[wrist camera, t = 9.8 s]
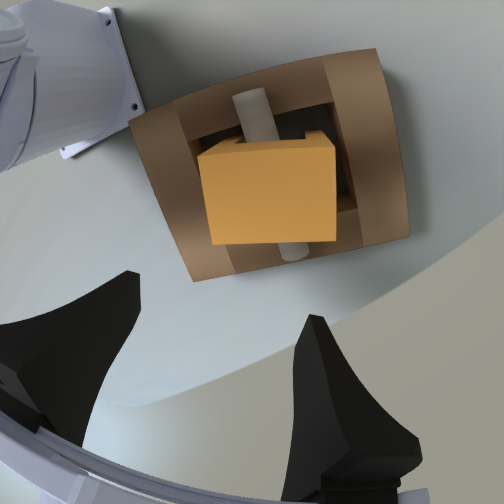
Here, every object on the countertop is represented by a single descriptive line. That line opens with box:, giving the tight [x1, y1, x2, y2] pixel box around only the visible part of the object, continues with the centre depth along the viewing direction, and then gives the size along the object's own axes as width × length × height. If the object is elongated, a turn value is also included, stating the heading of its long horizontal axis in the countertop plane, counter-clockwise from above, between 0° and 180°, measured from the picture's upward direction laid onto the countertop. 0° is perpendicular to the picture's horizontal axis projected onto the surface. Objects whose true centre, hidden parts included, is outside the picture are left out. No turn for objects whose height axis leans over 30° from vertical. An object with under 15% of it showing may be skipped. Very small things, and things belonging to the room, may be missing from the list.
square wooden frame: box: [127, 48, 410, 282], centre depth 16 cm, size 11×14×5 cm
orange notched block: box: [197, 130, 336, 245], centre depth 15 cm, size 4×5×6 cm
